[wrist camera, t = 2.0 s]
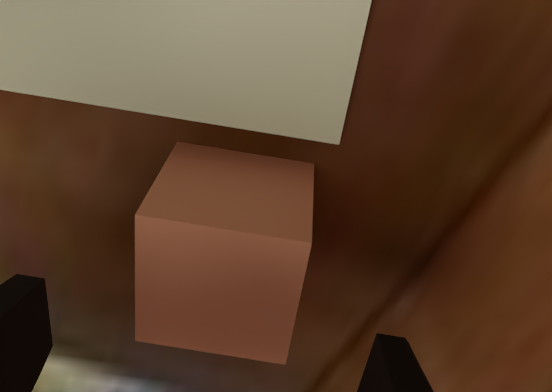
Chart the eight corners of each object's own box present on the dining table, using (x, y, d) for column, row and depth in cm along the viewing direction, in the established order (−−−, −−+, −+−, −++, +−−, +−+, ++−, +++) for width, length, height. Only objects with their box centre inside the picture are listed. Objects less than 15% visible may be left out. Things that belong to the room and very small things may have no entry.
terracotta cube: (173, 250, 17) (135, 340, 14) (177, 140, 15) (134, 214, 12) (292, 269, 17) (285, 364, 14) (314, 162, 15) (311, 243, 12)
